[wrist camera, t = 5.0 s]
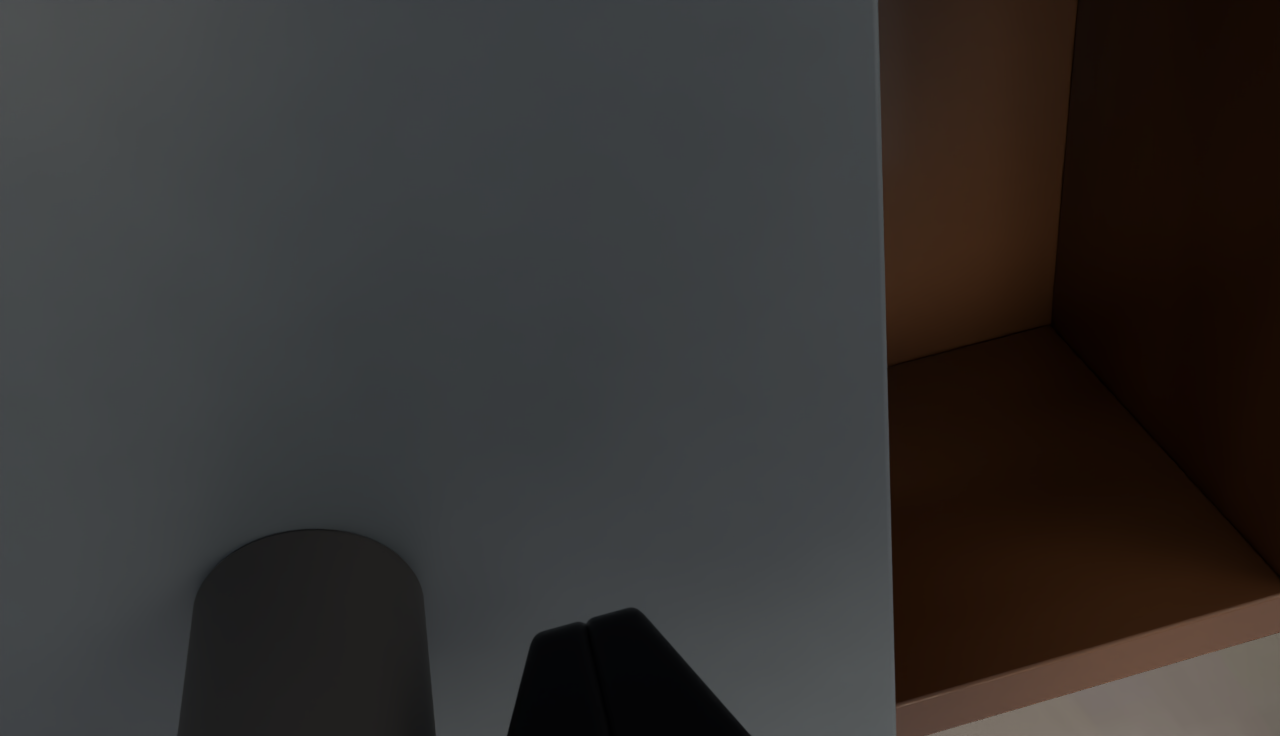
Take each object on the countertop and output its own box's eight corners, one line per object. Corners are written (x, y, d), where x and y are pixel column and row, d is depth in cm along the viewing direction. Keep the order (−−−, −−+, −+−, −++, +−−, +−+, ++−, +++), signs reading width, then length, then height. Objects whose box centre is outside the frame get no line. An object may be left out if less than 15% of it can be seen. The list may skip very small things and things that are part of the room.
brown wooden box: (289, 536, 19) (275, 928, 13) (-98, -258, 12) (-448, -87, 6) (1072, 330, 20) (1340, 616, 14) (1155, -511, 13) (1737, -542, 7)
